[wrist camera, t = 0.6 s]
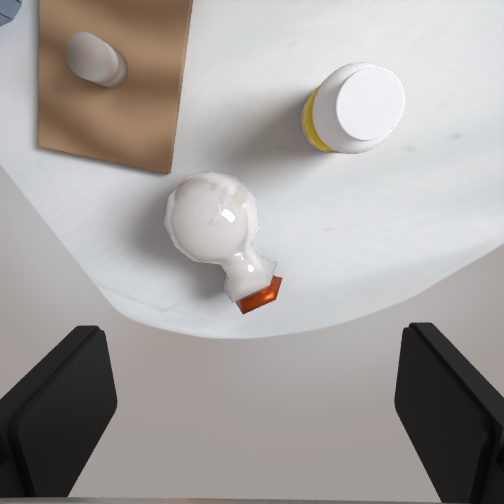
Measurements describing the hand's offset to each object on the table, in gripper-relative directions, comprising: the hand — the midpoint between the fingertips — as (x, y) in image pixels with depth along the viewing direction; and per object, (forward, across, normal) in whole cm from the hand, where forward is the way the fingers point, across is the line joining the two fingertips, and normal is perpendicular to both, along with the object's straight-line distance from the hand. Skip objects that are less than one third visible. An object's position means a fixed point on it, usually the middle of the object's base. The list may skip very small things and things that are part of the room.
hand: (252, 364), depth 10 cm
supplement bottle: (+29, -8, -9) cm, 31 cm away
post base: (+29, +15, -14) cm, 35 cm away
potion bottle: (+29, +3, +3) cm, 29 cm away
